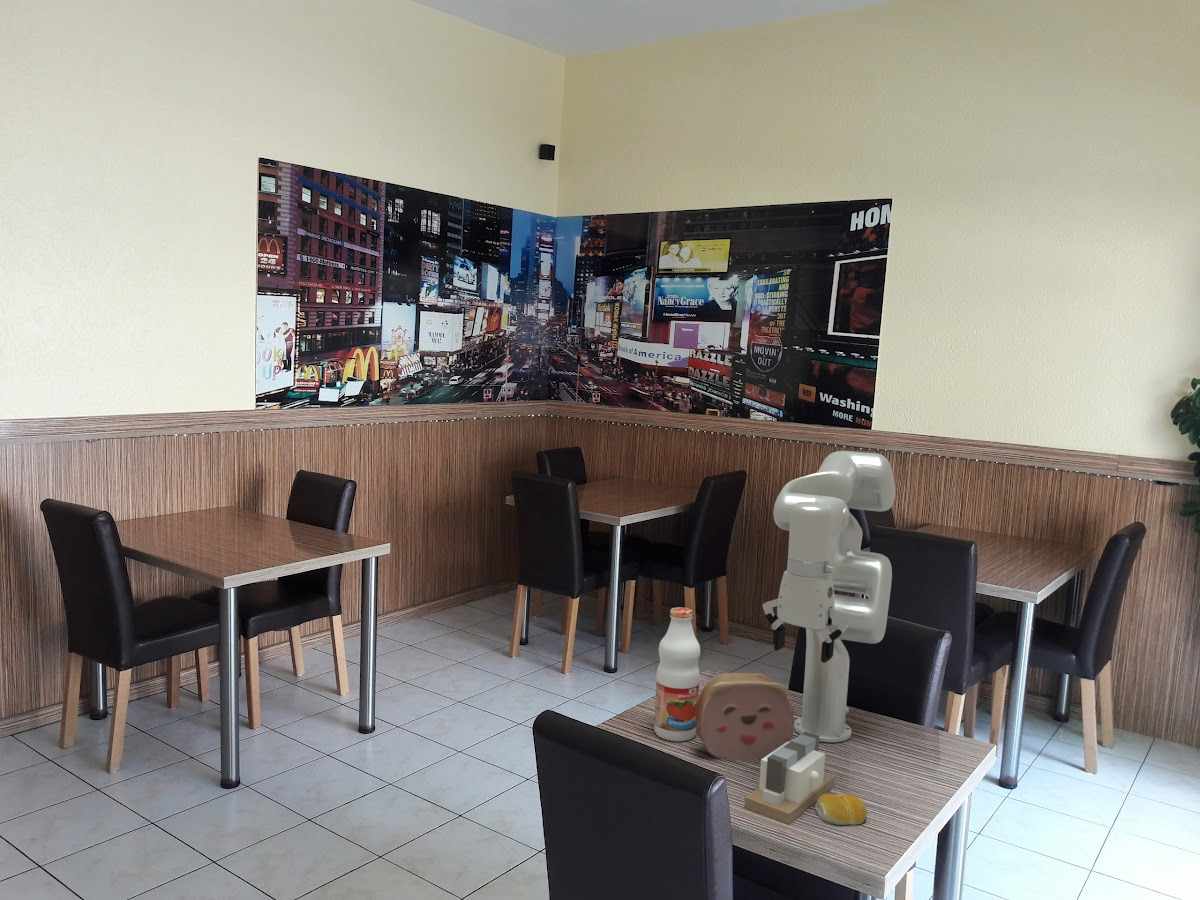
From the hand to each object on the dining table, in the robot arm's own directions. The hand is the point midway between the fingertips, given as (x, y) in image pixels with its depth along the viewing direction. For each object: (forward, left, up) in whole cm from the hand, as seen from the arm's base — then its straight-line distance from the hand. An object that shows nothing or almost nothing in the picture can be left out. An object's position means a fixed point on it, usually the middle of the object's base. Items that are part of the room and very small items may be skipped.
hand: (802, 654), depth 178 cm
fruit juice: (-7, -32, -27) cm, 42 cm away
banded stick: (+3, +1, -23) cm, 23 cm away
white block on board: (+3, +1, -27) cm, 27 cm away
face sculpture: (-8, -16, -27) cm, 32 cm away
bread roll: (+3, +11, -28) cm, 30 cm away
